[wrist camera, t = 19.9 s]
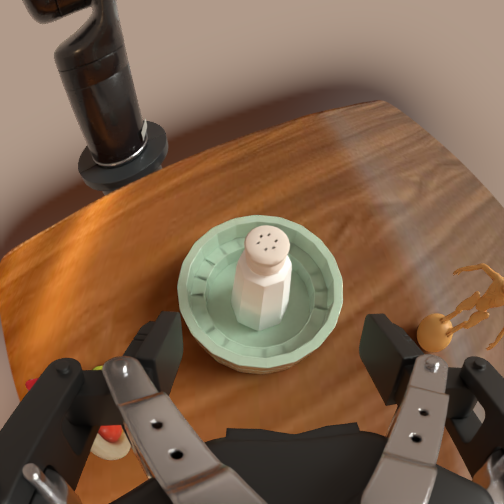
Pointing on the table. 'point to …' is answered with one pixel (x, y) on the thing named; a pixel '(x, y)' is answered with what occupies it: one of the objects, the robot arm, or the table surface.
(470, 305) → the figurine
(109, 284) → the table surface
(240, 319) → the pepper shaker
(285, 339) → the bowl
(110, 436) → the bird rattle
